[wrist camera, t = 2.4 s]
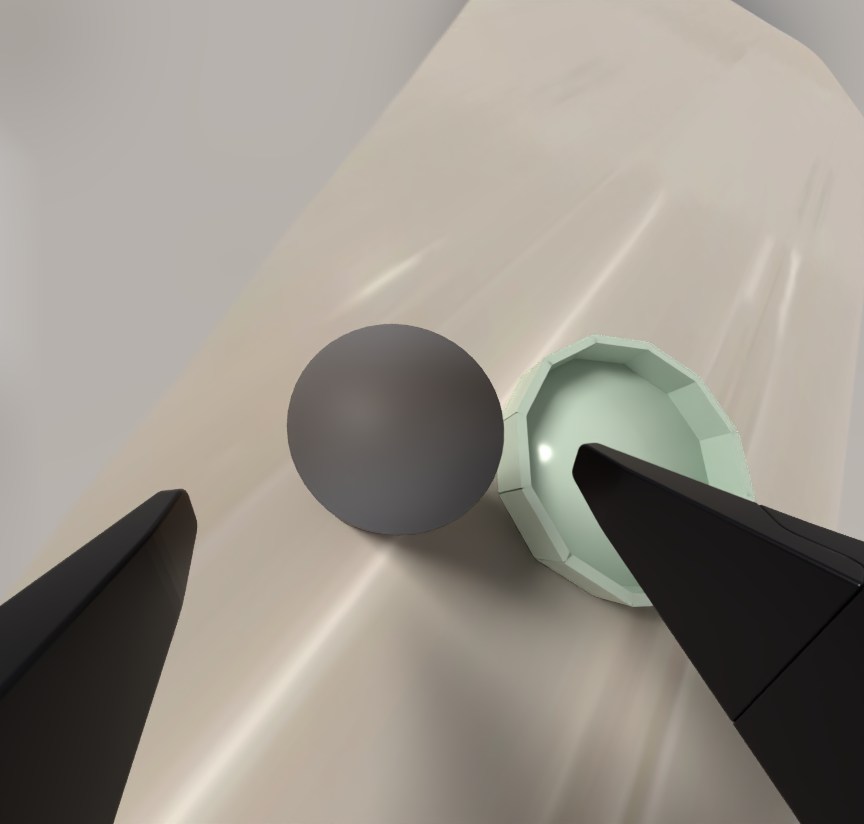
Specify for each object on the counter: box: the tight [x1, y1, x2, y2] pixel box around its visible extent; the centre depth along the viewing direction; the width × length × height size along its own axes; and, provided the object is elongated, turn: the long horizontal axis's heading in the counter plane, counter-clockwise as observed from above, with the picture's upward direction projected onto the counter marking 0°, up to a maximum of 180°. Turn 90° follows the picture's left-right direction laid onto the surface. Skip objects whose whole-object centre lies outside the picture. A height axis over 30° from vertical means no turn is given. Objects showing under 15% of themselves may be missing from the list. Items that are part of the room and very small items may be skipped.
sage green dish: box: [497, 334, 755, 607], centre depth 19 cm, size 13×13×2 cm
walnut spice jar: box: [287, 324, 504, 535], centre depth 13 cm, size 5×5×9 cm
